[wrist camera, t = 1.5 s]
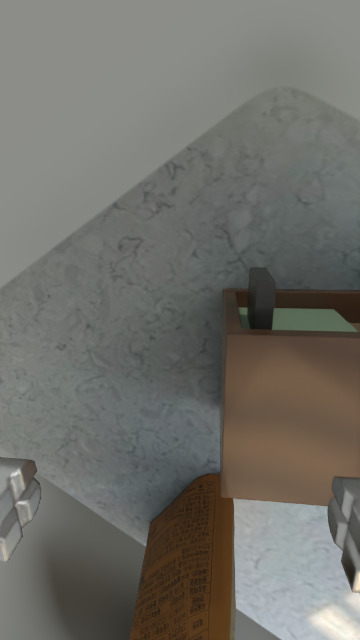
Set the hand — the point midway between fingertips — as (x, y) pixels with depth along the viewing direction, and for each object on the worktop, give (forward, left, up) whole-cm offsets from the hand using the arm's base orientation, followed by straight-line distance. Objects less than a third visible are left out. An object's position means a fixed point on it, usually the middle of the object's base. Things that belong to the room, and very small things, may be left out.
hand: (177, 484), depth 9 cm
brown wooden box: (-3, +13, -22) cm, 26 cm away
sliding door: (-5, +5, -21) cm, 22 cm away
